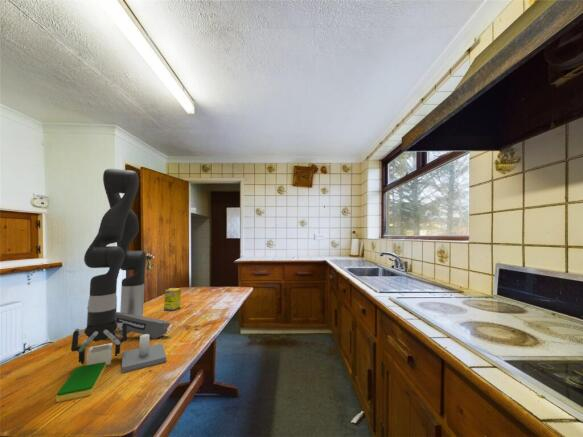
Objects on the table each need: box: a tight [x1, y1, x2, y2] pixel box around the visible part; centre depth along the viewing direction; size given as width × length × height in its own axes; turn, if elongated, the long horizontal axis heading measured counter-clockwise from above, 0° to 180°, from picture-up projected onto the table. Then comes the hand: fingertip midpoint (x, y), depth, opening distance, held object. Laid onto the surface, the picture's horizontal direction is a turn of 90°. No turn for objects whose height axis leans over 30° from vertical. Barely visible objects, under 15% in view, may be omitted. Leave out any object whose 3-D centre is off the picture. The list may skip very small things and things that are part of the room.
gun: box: [114, 311, 171, 339], centre depth 100 cm, size 3×25×15 cm, turn 95°
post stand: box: [121, 334, 167, 374], centre depth 83 cm, size 12×12×8 cm
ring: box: [86, 342, 113, 366], centre depth 80 cm, size 6×6×4 cm
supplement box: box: [163, 287, 182, 312], centre depth 137 cm, size 6×6×11 cm
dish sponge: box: [55, 362, 107, 403], centre depth 69 cm, size 7×14×2 cm, turn 24°
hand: (99, 359), depth 80 cm, fingers open, 8 cm apart
